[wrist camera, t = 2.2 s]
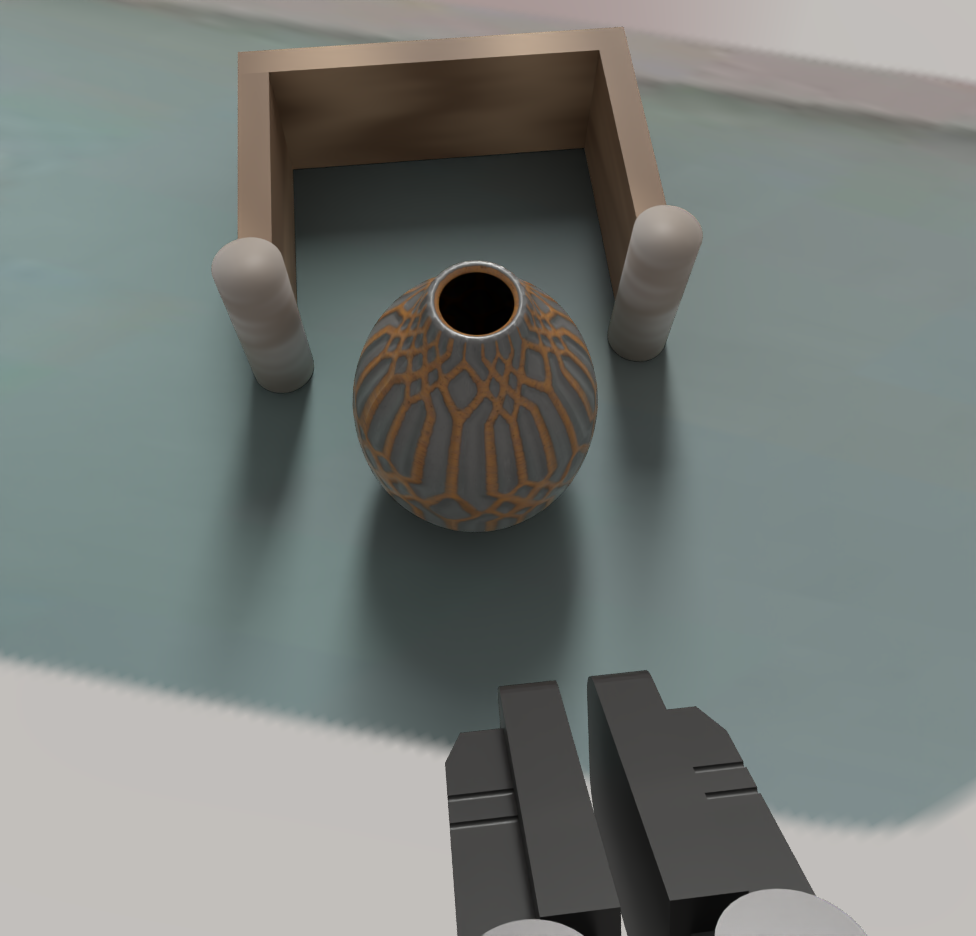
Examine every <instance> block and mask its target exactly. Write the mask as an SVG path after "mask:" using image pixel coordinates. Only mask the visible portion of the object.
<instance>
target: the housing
mask: <svg viewBox="0 0 976 936" xmlns="http://www.w3.org/2000/svg"><path fill="white" fill-rule="evenodd" d="M575 148H584V149H585V154H586V159H587V164H588V169H589V174H590V179H591V184H592V189H593V194H594V199H595V204H596V209H597V214H598V219H599V224H600V229H601V234H602V239H603V244H604V249H605V254H606V259H607V264H608V269H609V274H610V279H611V284H612V289H613V294H614V299H615V304H614V308H613V312H612V316H611V320H610V324H609V328H608V341H609V344H610V346H611V347H612V349H613V350H614V351H615V352H616V353H617V354H618V355H620V356H621V357H623V358H625V359H628V360H631V361H647V360H650V359H652V358H654V357H656V356H657V355H658V354H659V353H660V352H661V351H662V350H663V348H664V346H665V343H666V340H667V338H668V335H669V332H670V329H671V326H672V324H673V321H674V318H675V315H676V312H677V310H678V307H679V304H680V301H681V299H682V296H683V293H684V290H685V287H686V285H687V282H688V279H689V276H690V274H691V271H692V268H693V265H694V262H695V260H696V257H697V254H698V251H699V248H700V246H701V243H702V239H703V232H702V228H701V226H700V224H699V222H698V221H697V219H696V218H695V217H694V216H693V215H692V214H691V213H689V212H688V211H686V210H684V209H682V208H679V207H676V206H671V205H666V201H665V197H664V193H663V189H662V185H661V180H660V176H659V172H658V168H657V164H656V160H655V155H654V151H653V147H652V143H651V139H650V135H649V131H648V126H647V122H646V118H645V114H644V110H643V106H642V102H641V97H640V93H639V89H638V85H637V81H636V77H635V72H634V68H633V64H632V60H631V56H630V52H629V48H628V43H627V39H626V35H625V31H624V27H613V28H598V29H583V30H568V31H552V32H537V33H522V34H507V35H492V36H477V37H461V38H446V39H431V40H416V41H401V42H385V43H370V44H355V45H340V46H325V47H309V48H294V49H279V50H264V51H249V52H238V239H237V240H234V241H232V242H230V243H228V244H227V245H225V246H224V247H223V248H221V249H220V250H219V252H218V253H217V254H216V256H215V257H214V260H213V262H212V268H211V271H212V276H213V279H214V281H215V284H216V286H217V288H218V291H219V293H220V295H221V298H222V300H223V302H224V305H225V307H226V309H227V312H228V314H229V316H230V319H231V321H232V324H233V326H234V328H235V331H236V333H237V335H238V338H239V340H240V342H241V345H242V347H243V349H244V352H245V354H246V356H247V359H248V361H249V363H250V366H251V368H252V370H253V373H254V375H255V378H256V380H257V381H258V383H259V384H260V385H261V386H262V387H264V388H265V389H267V390H269V391H272V392H276V393H287V392H292V391H294V390H297V389H299V388H300V387H302V386H303V385H304V384H306V383H307V381H308V380H309V379H310V377H311V375H312V373H313V370H314V360H313V357H312V354H311V350H310V347H309V344H308V340H307V337H306V334H305V330H304V327H303V324H302V320H301V317H300V314H299V310H298V307H297V285H296V253H295V220H294V188H293V169H304V168H318V167H331V166H345V165H358V164H372V163H385V162H399V161H413V160H426V159H440V158H453V157H467V156H480V155H494V154H507V153H521V152H535V151H548V150H562V149H575Z"/></svg>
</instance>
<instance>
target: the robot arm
mask: <svg viewBox="0 0 976 936" xmlns="http://www.w3.org/2000/svg"><path fill="white" fill-rule="evenodd" d="M498 703H499V716H500V729H491V730H482V731H473V732H464V733H460V735H459V737H458V739H457V741H456V743H455V745H454V747H453V748H452V750H451V752H450V754H449V756H448V758H447V760H446V762H445V767H446V781H447V795H448V808H449V821H450V836H451V851H452V865H453V879H454V892H455V906H456V921H457V935H458V936H621V914H622V918H623V921H624V925H625V928H626V932H627V935H628V936H867V934H866V933H865V932H864V930H863V929H862V928H861V926H860V925H859V924H857V923H856V921H855V920H854V919H853V918H852V917H850V916H849V915H848V914H846V913H845V912H844V911H843V910H841V909H840V908H838V907H837V906H835V905H833V904H831V903H830V902H828V901H826V900H824V899H821V898H819V897H817V896H816V895H815V893H814V892H813V890H812V888H811V886H810V884H809V882H808V881H807V879H806V877H805V875H804V873H803V871H802V870H801V868H800V866H799V864H798V862H797V860H796V858H795V856H794V855H793V853H792V851H791V849H790V847H789V845H788V843H787V842H786V840H785V838H784V836H783V834H782V832H781V830H780V829H779V827H778V825H777V823H776V821H775V819H774V818H773V816H772V814H771V812H770V810H769V808H768V806H767V805H766V803H765V801H764V799H763V797H762V795H761V793H759V794H758V791H757V786H756V784H755V782H754V780H753V779H752V777H751V775H750V773H749V771H748V769H747V767H745V768H744V765H743V760H742V758H741V756H740V755H739V753H738V751H737V749H736V747H735V745H734V743H733V742H732V740H731V738H730V736H729V734H728V732H727V731H726V730H725V729H724V728H723V727H721V726H720V725H719V724H718V723H716V722H715V721H714V720H712V719H711V718H710V717H709V716H707V715H706V714H705V713H704V712H702V711H701V710H700V709H699V708H697V707H696V706H695V707H686V708H677V709H668V710H666V707H665V705H664V703H663V701H662V699H661V696H660V694H659V692H658V690H657V688H656V685H655V683H654V681H653V679H652V677H651V675H650V673H649V672H648V671H647V670H644V671H635V672H626V673H617V674H607V675H598V676H590V677H589V678H588V683H587V703H588V733H589V763H590V784H591V794H592V802H593V808H594V811H593V808H592V804H591V801H590V797H589V794H588V790H587V786H586V783H585V779H584V776H583V772H582V769H581V765H580V762H579V758H578V755H577V751H576V748H575V744H574V740H573V737H572V733H571V730H570V726H569V723H568V719H567V716H566V712H565V709H564V705H563V702H562V698H561V694H560V691H559V687H558V684H557V682H556V680H554V681H545V682H535V683H526V684H517V685H508V686H499V687H498ZM594 814H595V815H594Z"/></svg>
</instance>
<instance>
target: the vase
mask: <svg viewBox="0 0 976 936" xmlns="http://www.w3.org/2000/svg"><path fill="white" fill-rule="evenodd" d="M597 408H598V398H597V383H596V377H595V372H594V367H593V364H592V360H591V357H590V354H589V351H588V349H587V346H586V344H585V342H584V340H583V338H582V336H581V334H580V332H579V330H578V328H577V327H576V325H575V324H574V322H573V321H572V319H571V318H570V317H569V315H568V314H567V313H566V312H565V310H564V309H563V308H562V307H561V306H560V305H559V304H558V303H557V302H556V301H555V300H553V299H552V298H551V297H550V296H549V295H547V294H546V293H545V292H543V291H542V290H540V289H539V288H537V287H536V286H534V285H532V284H530V283H528V282H526V281H524V280H522V279H519V278H517V277H516V276H515V275H514V274H513V273H512V272H510V271H509V270H508V269H506V268H504V267H502V266H500V265H498V264H495V263H492V262H488V261H479V260H473V261H465V262H461V263H457V264H455V265H452V266H450V267H448V268H447V269H445V270H443V271H442V272H441V273H440V274H439V275H437V276H436V277H434V278H431V279H429V280H427V281H424V282H422V283H420V284H418V285H417V286H415V287H413V288H412V289H410V290H409V291H407V292H406V293H405V294H403V295H402V296H401V297H399V298H398V299H397V300H396V301H395V302H394V303H393V304H392V305H391V306H390V307H389V308H388V309H387V310H386V311H385V312H384V313H383V315H382V316H381V317H380V319H379V320H378V321H377V323H376V324H375V326H374V327H373V329H372V331H371V333H370V335H369V337H368V339H367V341H366V343H365V345H364V348H363V350H362V353H361V356H360V358H359V362H358V365H357V369H356V374H355V379H354V387H353V415H354V421H355V427H356V432H357V436H358V439H359V442H360V445H361V448H362V451H363V454H364V456H365V458H366V460H367V462H368V465H369V466H370V468H371V470H372V472H373V474H374V475H375V477H376V478H377V480H378V481H379V483H380V484H381V485H382V487H383V488H384V489H385V490H386V491H387V492H388V493H389V494H390V495H391V496H392V497H393V498H394V499H395V500H396V501H397V502H398V503H399V504H400V505H401V506H403V507H404V508H405V509H407V510H408V511H410V512H411V513H413V514H414V515H416V516H418V517H420V518H422V519H423V520H425V521H427V522H430V523H432V524H434V525H437V526H440V527H443V528H447V529H451V530H457V531H465V532H486V531H494V530H499V529H503V528H507V527H510V526H513V525H516V524H518V523H520V522H523V521H525V520H527V519H529V518H531V517H533V516H534V515H536V514H538V513H539V512H541V511H542V510H544V509H545V508H546V507H548V506H549V505H550V504H551V503H552V502H553V501H555V500H556V499H557V498H558V497H559V496H560V495H561V494H562V493H563V491H564V490H565V489H566V488H567V487H568V486H569V484H570V483H571V482H572V480H573V479H574V477H575V476H576V474H577V472H578V471H579V469H580V467H581V465H582V463H583V461H584V459H585V457H586V454H587V452H588V449H589V446H590V443H591V440H592V437H593V433H594V429H595V424H596V417H597Z"/></svg>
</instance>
